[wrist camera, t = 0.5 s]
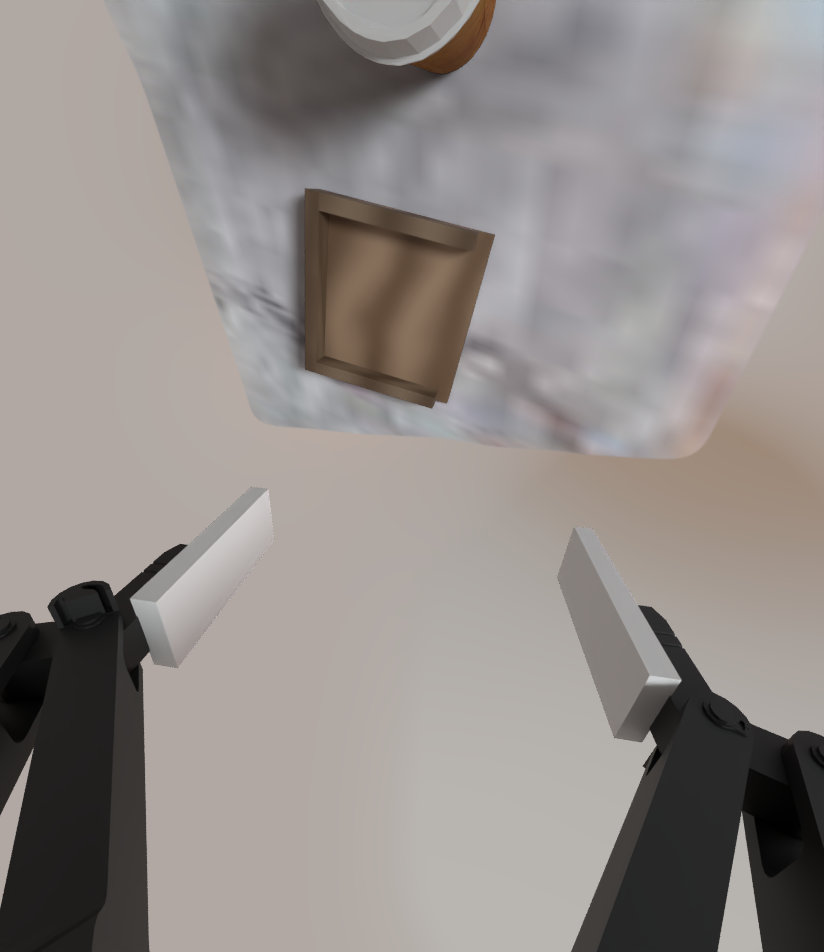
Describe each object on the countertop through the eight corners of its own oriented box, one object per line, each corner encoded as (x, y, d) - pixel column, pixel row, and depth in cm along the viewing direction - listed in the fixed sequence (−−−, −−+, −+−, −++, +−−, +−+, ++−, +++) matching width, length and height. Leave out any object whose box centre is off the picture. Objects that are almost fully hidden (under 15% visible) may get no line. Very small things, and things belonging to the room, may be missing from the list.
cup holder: (495, 234, 30) (492, 237, 28) (447, 401, 39) (443, 412, 37) (319, 189, 31) (304, 188, 29) (316, 361, 41) (305, 369, 39)
